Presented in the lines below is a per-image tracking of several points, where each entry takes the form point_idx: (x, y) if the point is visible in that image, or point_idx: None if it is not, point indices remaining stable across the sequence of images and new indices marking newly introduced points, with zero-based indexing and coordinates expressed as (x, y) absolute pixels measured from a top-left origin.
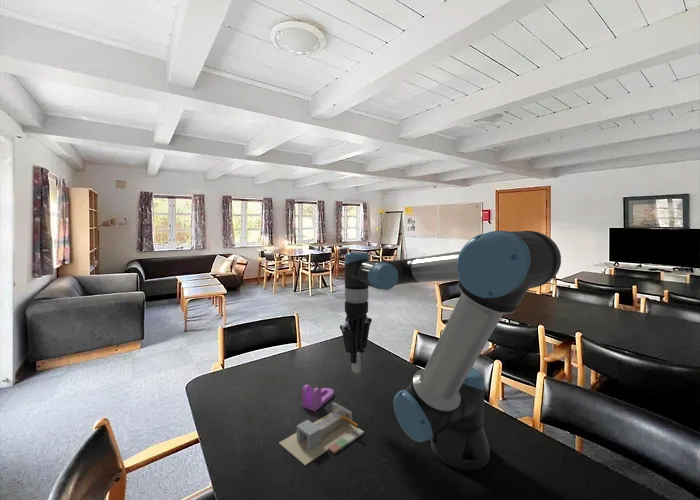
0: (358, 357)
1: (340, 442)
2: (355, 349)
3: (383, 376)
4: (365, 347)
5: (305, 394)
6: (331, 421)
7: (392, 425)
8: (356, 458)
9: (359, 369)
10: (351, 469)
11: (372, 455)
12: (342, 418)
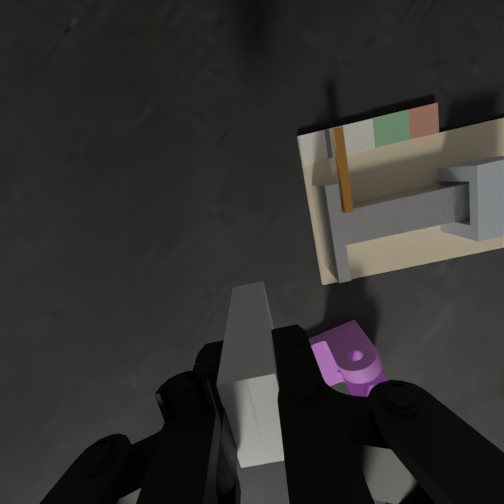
0: (258, 346)
1: (395, 131)
2: (333, 434)
3: (42, 371)
4: (103, 444)
5: (384, 380)
6: (389, 209)
7: (188, 114)
8: (391, 44)
9: (244, 293)
10: (435, 10)
11: (342, 23)
12: (350, 200)
